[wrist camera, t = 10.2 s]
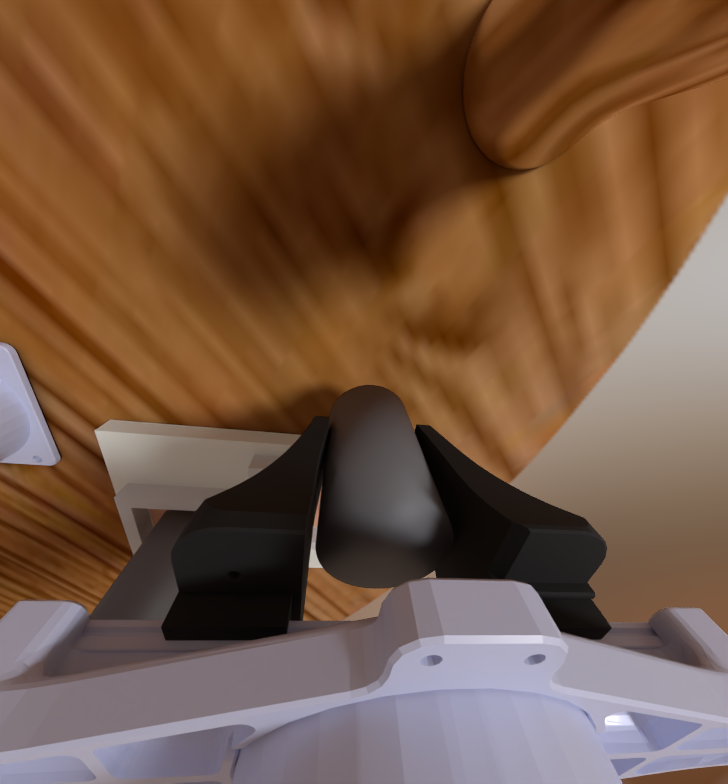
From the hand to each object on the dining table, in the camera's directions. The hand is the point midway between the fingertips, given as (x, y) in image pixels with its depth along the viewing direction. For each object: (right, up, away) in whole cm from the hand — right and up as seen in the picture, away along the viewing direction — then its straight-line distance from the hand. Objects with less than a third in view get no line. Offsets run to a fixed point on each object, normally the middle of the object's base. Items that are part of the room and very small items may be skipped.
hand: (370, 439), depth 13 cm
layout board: (-8, -6, +8) cm, 13 cm away
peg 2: (0, +1, +1) cm, 2 cm away
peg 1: (-12, -7, +7) cm, 16 cm away
